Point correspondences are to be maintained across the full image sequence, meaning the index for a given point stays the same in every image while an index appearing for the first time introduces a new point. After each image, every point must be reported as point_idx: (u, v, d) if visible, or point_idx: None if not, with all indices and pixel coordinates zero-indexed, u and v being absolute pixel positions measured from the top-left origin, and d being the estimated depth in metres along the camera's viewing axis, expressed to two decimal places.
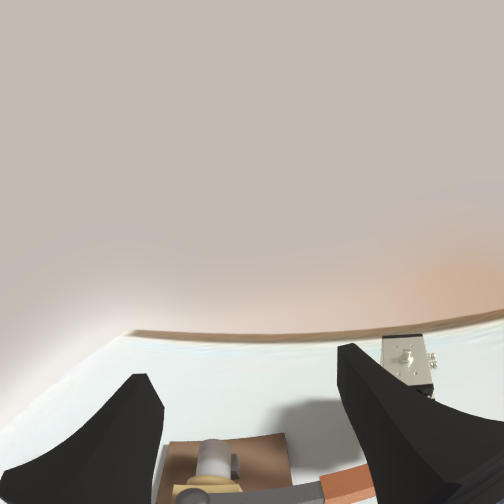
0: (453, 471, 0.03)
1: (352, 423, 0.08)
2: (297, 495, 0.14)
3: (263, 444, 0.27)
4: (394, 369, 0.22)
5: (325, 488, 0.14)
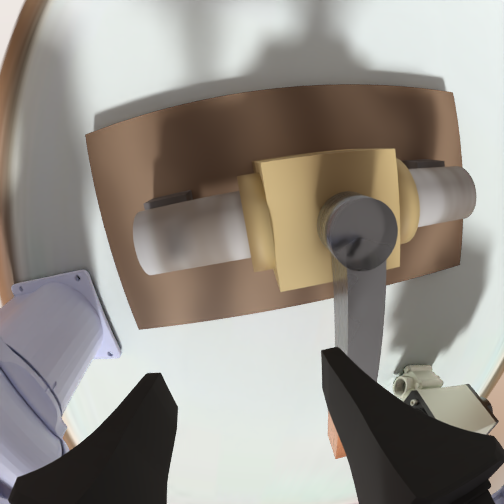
0: (425, 485, 0.03)
1: (336, 427, 0.08)
2: None
3: (451, 238, 0.18)
4: None
5: None
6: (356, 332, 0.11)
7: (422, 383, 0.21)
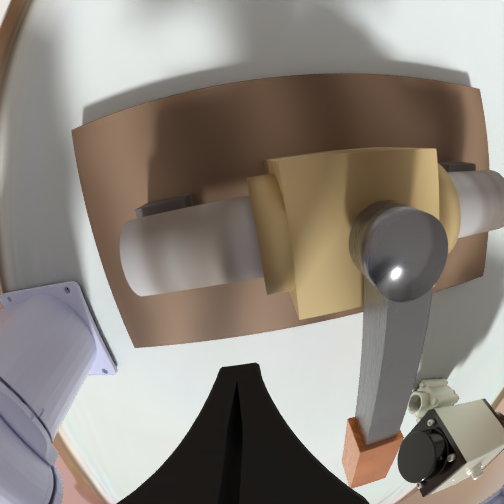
0: None
1: None
2: (384, 423, 0.09)
3: (476, 247, 0.16)
4: (474, 464, 0.11)
5: (379, 447, 0.10)
6: (390, 370, 0.08)
7: (438, 400, 0.18)
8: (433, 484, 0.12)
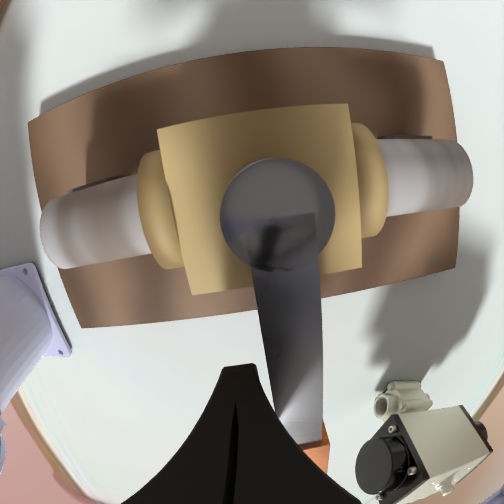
0: None
1: None
2: (296, 425, 0.09)
3: (445, 235, 0.15)
4: (442, 478, 0.11)
5: None
6: (279, 359, 0.08)
7: (406, 405, 0.18)
8: (393, 498, 0.11)
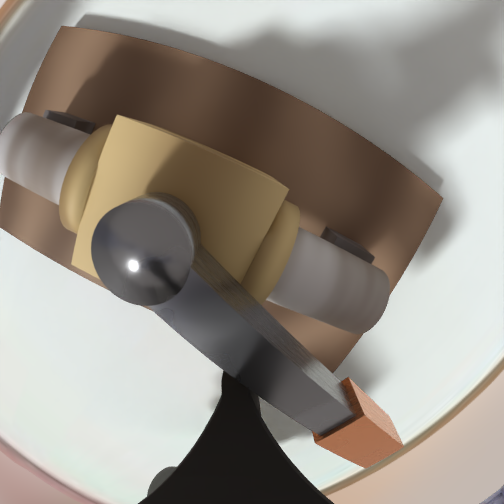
0: None
1: None
2: (311, 411, 0.08)
3: (337, 343, 0.17)
4: None
5: (339, 432, 0.09)
6: (235, 365, 0.08)
7: None
8: None
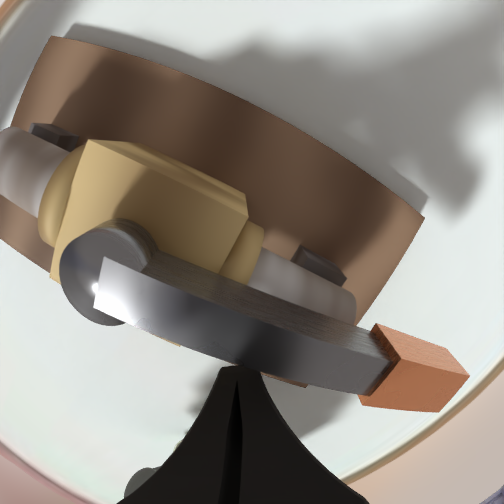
0: None
1: None
2: (338, 374, 0.08)
3: None
4: None
5: (383, 385, 0.08)
6: (230, 351, 0.07)
7: None
8: None
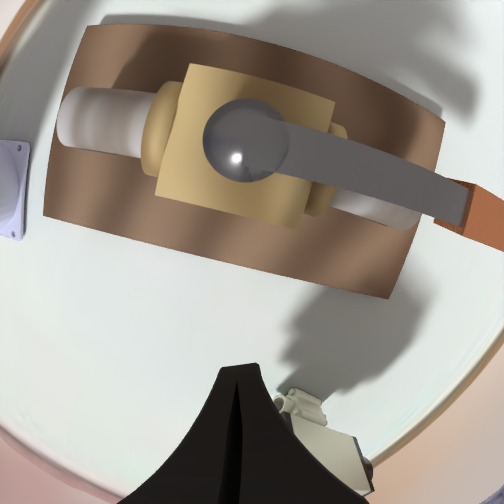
0: None
1: None
2: (439, 201, 0.09)
3: (388, 264, 0.19)
4: None
5: (471, 213, 0.09)
6: (363, 182, 0.09)
7: (301, 412, 0.20)
8: None
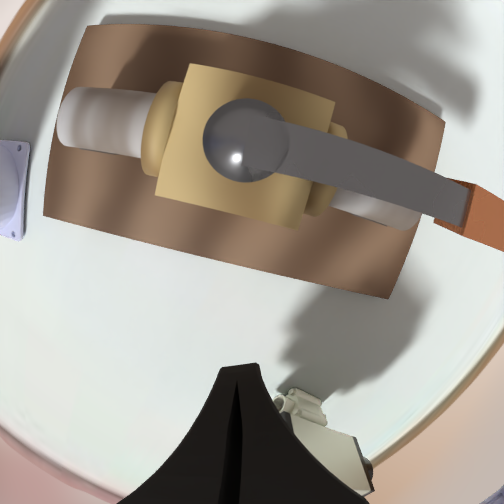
0: None
1: None
2: (439, 201, 0.09)
3: (388, 264, 0.19)
4: None
5: (471, 213, 0.09)
6: (363, 182, 0.09)
7: (301, 412, 0.20)
8: None
